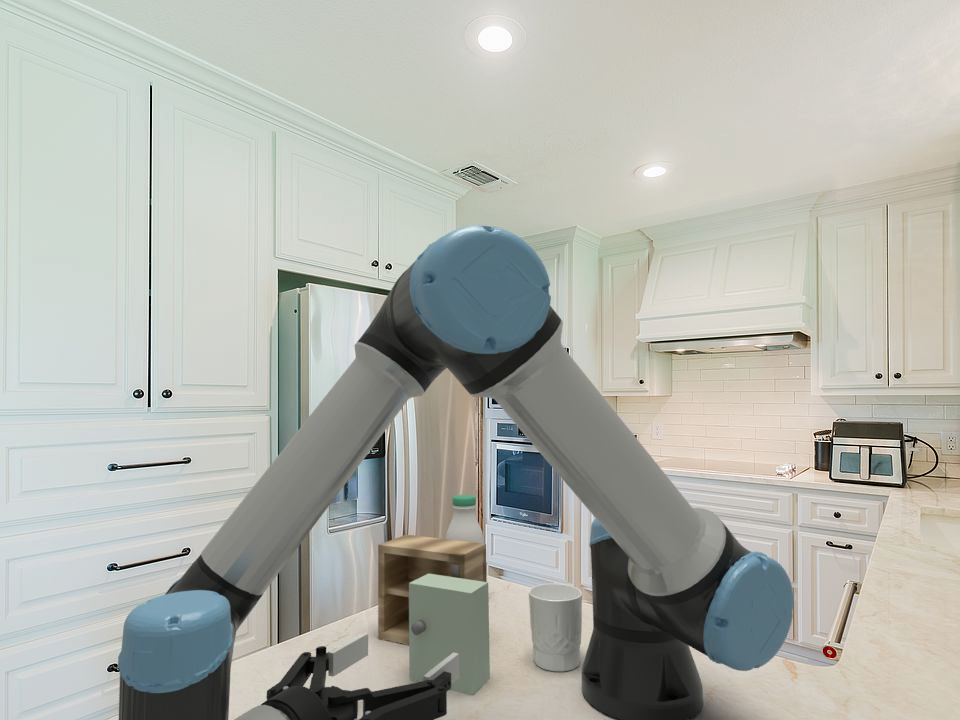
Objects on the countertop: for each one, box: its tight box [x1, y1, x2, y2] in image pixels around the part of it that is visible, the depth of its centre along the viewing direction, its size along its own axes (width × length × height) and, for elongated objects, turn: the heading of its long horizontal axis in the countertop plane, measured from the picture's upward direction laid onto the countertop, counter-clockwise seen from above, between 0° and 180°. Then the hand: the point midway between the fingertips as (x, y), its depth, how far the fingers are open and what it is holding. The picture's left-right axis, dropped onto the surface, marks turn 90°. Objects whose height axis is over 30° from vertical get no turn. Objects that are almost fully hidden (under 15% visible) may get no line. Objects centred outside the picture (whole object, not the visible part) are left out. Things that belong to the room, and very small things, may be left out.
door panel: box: [408, 574, 491, 697], centre depth 77 cm, size 10×6×13 cm, turn 62°
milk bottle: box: [445, 494, 485, 544], centre depth 110 cm, size 8×8×20 cm
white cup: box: [528, 583, 583, 673], centre depth 82 cm, size 8×8×10 cm
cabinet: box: [377, 534, 488, 646], centre depth 91 cm, size 16×9×15 cm, turn 62°
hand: (409, 653), depth 69 cm, fingers open, 13 cm apart
